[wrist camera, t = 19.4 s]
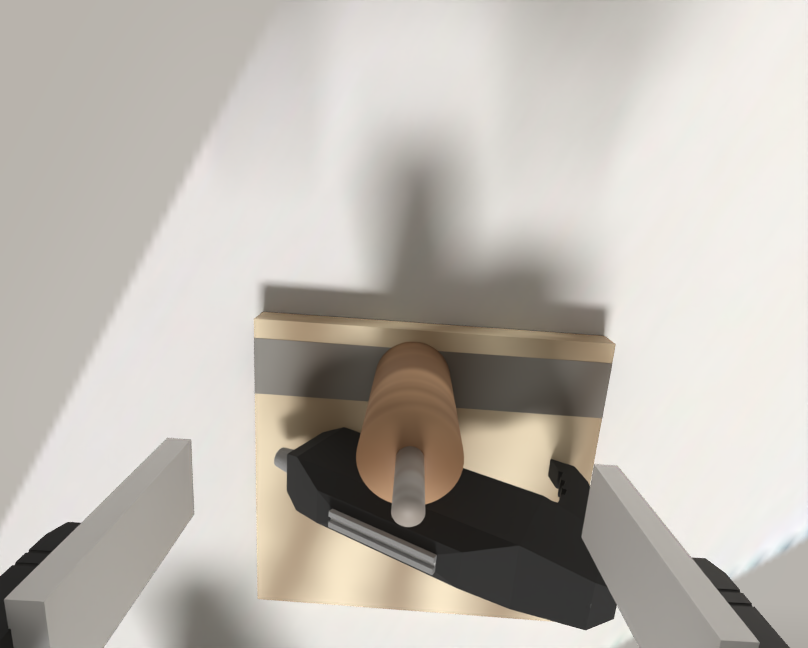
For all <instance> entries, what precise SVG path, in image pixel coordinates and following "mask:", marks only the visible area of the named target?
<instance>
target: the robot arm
mask: <svg viewBox="0 0 808 648" xmlns="http://www.w3.org/2000/svg"><path fill="white" fill-rule="evenodd" d="M193 515H194V496H193V473H192V449H191V439H176V438H167V439H166V440H165V441H164V442H163V443H162V444H161V445H160V446H159V447H158V448H157V449H156V450H155V451H154V452H153V453H152V454H151V455H150V456H149V457H148V458H147V459H146V460H145V461H144V462H143V463H141V464H140V465H139V466H138V467H137V468H136V469H135V470H134V471H133V472H132V473H131V474H130V475H129V476H128V477H127V478H126V479H125V480H124V481H123V482H122V483H121V484H120V485H119V486H118V487H117V488H116V489H115V490H114V491H113V492H112V493H111V494H110V495H109V496H108V497H107V498H106V499H105V500H104V501H103V502H102V503H101V504H100V505H99V506H98V507H97V508H96V509H95V510H94V511H93V512H92V513H91V514H90V515H89V516H88V517H87V518H86V519H85V520H84V521H83V522H82V523H74V522H67V523H65V524H63V525H62V526H60V527H58V528H56V529H55V530H53V531H51V532H49V533H48V534H46V535H45V536H44V537H42V538H41V539H40V540H39V541H38V542H37V543H36V544H35V545H34V546H33V547H32V548H30V549H29V552H28V553H25V554H24V555H23V556H22V557H21V558H20V559H19V560H17V561H16V563H15V565H12V566H11V567H10V568H9V569H8V570H7V571H6V572H4V573H3V574H2V575H1V576H0V648H104V646H105V645H106V643H107V642H108V640H109V639H110V638H111V636H112V635H113V633H114V632H115V630H116V629H117V627H118V626H119V624H120V623H121V621H122V620H123V618H124V617H125V615H126V614H127V612H128V611H129V610H130V608H131V607H132V605H133V604H134V602H135V601H136V599H137V598H138V596H139V595H140V593H141V592H142V590H143V589H144V587H145V586H146V584H147V583H148V582H149V580H150V579H151V577H152V576H153V574H154V573H155V571H156V570H157V568H158V567H159V565H160V564H161V562H162V561H163V559H164V558H165V556H166V555H167V554H168V552H169V551H170V549H171V548H172V546H173V545H174V543H175V542H176V540H177V539H178V537H179V536H180V534H181V533H182V531H183V530H184V528H185V527H186V526H187V524H188V523H189V521H190V520H191V518H192V517H193ZM581 537H582V539H583V541H584V543H585V545H586V547H587V549H588V551H589V553H590V555H591V557H592V558H593V560H594V562H595V564H596V566H597V568H598V570H599V572H600V574H601V576H602V577H603V579H604V581H605V583H606V585H607V587H608V589H609V591H610V593H611V595H612V597H613V598H614V600H615V602H616V604H617V606H618V608H619V610H620V612H621V614H622V616H623V618H624V619H625V621H626V623H627V625H628V627H629V629H630V631H631V633H632V635H633V637H634V638H635V640H636V642H637V644H638V646H639V648H789V646H788V645H787V644H786V643H785V642H784V641H783V639H782V638H780V636H779V635H778V634H777V632H776V631H775V630H774V629H773V628H772V627H771V625H770V624H769V623H768V622H767V621H766V620H765V618H764V617H763V616H762V615H761V614H760V613H759V612H758V610H757V609H756V608H755V607H752V605H751V604H752V603H751V602H750V601H749V600H748V599H747V598H746V597H745V595H744V594H743V593H740V590H739V588H738V587H737V586H736V585H735V584H734V583H733V581H732V580H731V579H730V578H729V577H728V576H727V574H726V573H724V572H723V571H722V570H720V569H719V568H718V567H716V566H715V565H714V564H712V563H711V562H710V561H708V560H707V559H705V558H691V556H690V555H689V554H688V553H687V551H686V550H685V549H684V548H683V546H682V545H681V544H680V543H679V541H678V540H677V539H676V538H675V536H674V535H673V534H672V533H671V532H670V530H669V529H668V528H667V527H666V525H665V524H664V523H663V522H662V520H661V519H660V518H659V517H658V515H657V514H656V513H655V512H654V510H653V509H652V508H651V507H650V505H649V504H648V503H647V502H646V500H645V499H644V498H643V497H642V495H641V494H640V493H639V492H638V491H637V489H636V488H635V487H634V486H633V484H632V483H631V482H630V481H629V479H628V478H627V477H626V476H625V474H624V473H623V472H622V471H621V469H620V468H619V467H618V466H615V465H599V464H594V468H593V474H592V480H591V485H590V491H589V497H588V502H587V508H586V514H585V519H584V525H583V531H582V536H581Z"/></svg>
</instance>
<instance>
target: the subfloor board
mask: <svg viewBox="0 0 808 648" xmlns="http://www.w3.org/2000/svg"><path fill="white" fill-rule="evenodd" d="M404 342H421V343H424V344H427V345H430V346H431V347H433V348H435V349H436V350H437V351H438V352H439V353H440V354H441V355H442V356H443V357H444V359H445V360H446V362H447V364H448V367H449V371H450V377H451V382H452V388H453V394H454V399H455V405H456V411H457V416H458V422H459V428H460V433H461V439H462V445H463V451H464V465H463V468H465V469H468V470H470V471H473V472H476V473H479V474H482V475H485V476H488V477H491V478H494V479H497V480H500V481H502V482H505V483H508V484H511V485H514V486H517V487H520V488H523V489H526V490H529V491H532V492H534V493H537V494H540V495H543V496H545V497H547V498H548V499H550V500H551V501H554V502H557V503H558V501H559V498H560V497H558V489H557V488H555V486H554V485H553V483H552V482H551V480H550V478H549V477H548V472H549V466H550V460H551V459H553V460H556V461H559V462H562V463H566V464H569V465H572V466H575V467H576V468H577V470H578V471H579V472H580V473H581V474H582V475H583V477H584V478H585V479H586V480H587V481H588V483H589V486H590V481H591V476H592V470H593V465H594V459H595V454H596V448H597V443H598V437H599V432H600V427H601V421H602V417H603V411H604V406H605V400H606V395H607V389H608V384H609V379H610V373H611V368H612V361H613V356H614V350H615V345H616V344H615V343H613V342H612V341H611V340H609V339H608V338H607V337H605V336H600V335H586V334H571V333H557V332H543V331H529V330H515V329H500V328H486V327H472V326H458V325H444V324H429V323H415V322H401V321H387V320H373V319H358V318H344V317H330V316H316V315H302V314H287V313H273V312H262V313H261V314H260V315H258V316H257V317H256V318H254V368H255V435H256V513H257V590H258V599H265V600H278V601H291V602H304V603H317V604H330V605H344V606H357V607H370V608H383V609H396V610H409V611H422V612H435V613H448V614H462V615H475V616H488V617H501V618H514V619H527V620H540V621H550V620H547V619H543V618H540V617H536V616H532V615H529V614H525V613H521V612H518V611H514V610H511V609H508V608H505V607H503V606H500V605H498V604H495V603H493V602H490V601H487V600H485V599H482V598H480V597H477V596H475V595H472V594H470V593H467V592H465V591H462V590H460V589H457V588H455V587H453V586H451V585H449V584H446V583H444V582H442V581H440V580H438V579H436V578H434V577H431V576H429V575H427V574H425V573H423V572H421V571H419V570H416V569H414V568H412V567H410V566H408V565H406V564H404V563H401V562H399V561H397V560H395V559H393V558H391V557H389V556H386V555H384V554H382V553H380V552H378V551H376V550H374V549H371V548H369V547H367V546H365V545H363V544H361V543H359V542H356V541H354V540H352V539H350V538H348V537H346V536H344V535H341V534H339V533H337V532H335V531H333V530H331V529H329V528H326V527H324V526H322V525H320V524H318V523H316V522H314V521H313V520H311V519H309V518H308V517H306V516H304V515H303V514H301V513H300V512H298V511H296V509H295V507H294V505H293V503H292V501H291V499H290V497H289V495H288V493H287V473H286V472H284V471H283V470H281V469H280V468H278V467H276V466H275V464H274V458H275V455H276V453H277V452H278V450H279V449H281V448H283V447H284V448H289V449H296V448H298V447H299V446H301V445H303V444H304V443H306V442H308V441H309V440H311V439H313V438H314V437H316V436H318V435H319V434H321V433H322V432H326V431H330V430H334V429H338V428H342V427H345V428H348V429H351V430H354V431H357V432H360V433H361V430H362V426H363V422H364V418H365V413H366V409H367V405H368V401H369V397H370V393H371V389H372V385H373V381H374V376H375V372H376V368H377V365H378V363H379V361H380V359H381V357H382V356H383V355H384V354H385V353H386V352H387V351H388V350H389V349H390V348H392V347H394V346H396V345H398V344H401V343H404ZM553 622H554V621H553Z"/></svg>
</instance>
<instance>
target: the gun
mask: <svg viewBox="0 0 808 648" xmlns="http://www.w3.org/2000/svg"><path fill="white" fill-rule="evenodd" d="M360 434H361V433H360V432H357V431H354V430H351V429H348V428H345V427H342V428H338V429H334V430H330V431H326V432H322V433H321V434H319V435H318V436H316V437H314V438H313V439H311V440H309V441H308V442H306V443H304V444H303V445H301V446H299V447H298V448H296V449H289V448H284V447H283V448H281V449H279V450H278V452H277V453H276V455H275V458H274V464H275V466H276V467H278V468H280V469H281V470H283V471H284V472H286V473H287V493H288V495H289V497H290V499H291V501H292V503H293V505H294V507H295V509H296V511H298V512H300V513H301V514H303V515H304V516H306V517H308V518H309V519H311V520H313V521H314V522H316V523H318V524H320V525H322V526H324V527H326V528H329V529H331V530H333V531H335V532H337V533H339V534H341V535H344V536H346V537H348V538H350V539H352V540H354V541H356V542H359V543H361V544H363V545H365V546H367V547H369V548H371V549H374V550H376V551H378V552H380V553H382V554H384V555H386V556H389V557H391V558H393V559H395V560H397V561H399V562H401V563H404V564H406V565H408V566H410V567H412V568H414V569H416V570H419V571H421V572H423V573H425V574H427V575H429V576H431V577H434V578H436V579H438V580H440V581H442V582H444V583H446V584H449V585H451V586H453V587H455V588H457V589H460V590H462V591H465V592H467V593H470V594H472V595H475V596H477V597H480V598H482V599H485V600H487V601H490V602H493V603H495V604H498V605H500V606H503V607H505V608H508V609H511V610H514V611H518V612H521V613H525V614H529V615H532V616H536V617H540V618H543V619H547V620H550V621H554V622H558V623H561V624H565V625H569V626H572V627H576V628H579V629H583V630H588V629H590V628H593V627H595V626H598V625H600V624H602V623H605V622H607V621H610V620H612V619H614V615H615V611H616V606H617V604H616V602H615V600H614V598H613V597H612V595H611V593H610V591H609V589H608V587H607V585H606V583H605V581H604V579H603V577H602V576H601V574H600V572H599V570H598V568H597V566H596V564H595V562H594V560H593V558H592V557H591V555H590V553H589V551H588V549H587V547H586V545H585V543H584V541H583V539H582V537H581V536H582V531H583V525H584V519H585V514H586V508H587V502H588V497H589V491H590V486H589V483H588V481H587V480H586V479H585V478H584V477H583V475H582V474H581V473H580V472H579V471H578V470H577V468H576V467H575V466H572V465H569V464H566V463H562V462H559V461H556V460H553V459H551V460H550V466H549V472H548V477H549V478H550V480H551V482H552V483H553V485H554V486H555V488H557V489H558V497H560V498H559V501H558V503H557V502H554V501H551V500H550V499H548V498H547V497H545V496H543V495H540V494H537V493H534V492H532V491H529V490H526V489H523V488H520V487H517V486H514V485H511V484H508V483H505V482H502V481H500V480H497V479H494V478H491V477H488V476H485V475H482V474H479V473H476V472H473V471H470V470H468V469H465V468H463V470H462V473H461V476H460V478H459V480H458V482H457V483H456V484H455V486H454V487H453V488H452V489H451V490H450V491H449V492H448V493H447V494H446V495H445V496H443V497H441V498H440V499H438V500H436V501H434V502H431V503H428V504H425V517H424V519H423V521H422V522H421V523H420V524H418V525H416V526H413V527H404V526H401V525H399V524H397V523H396V522H395V521H394V519H393V518H392V515H391V508H392V503H390V502H388V501H386V500H384V499H382V498H380V497H379V496H377V495H376V494H374V493H373V492H372V491H371V490H370V489H369V488H368V487H367V486H366V484H365V483H364V481H363V480H362V478H361V476H360V474H359V471H358V468H357V462H356V452H357V446H358V442H359V438H360Z"/></svg>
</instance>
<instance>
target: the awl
mask: <svg viewBox="0 0 808 648" xmlns="http://www.w3.org/2000/svg"><path fill="white" fill-rule="evenodd" d="M356 462H357V468H358V471H359V474H360V476H361V478H362V480H363V481H364V483H365V484H366V486H367V487H368V488H369V489H370V490H371V491H372V492H373V493H374V494H376V495H377V496H379V497H380V498H382V499H384V500H386V501H388V502H390V503H392V508H391V515H392V518H393V519H394V521H395V522H396V523H397V524H399V525H401V526H404V527H413V526H416V525H418V524H420V523H421V522H422V521H423V519H424V517H425V504H428V503H431V502H434V501H436V500H438V499H440V498H441V497H443V496H445V495H446V494H447V493H448V492H449V491H450V490H451V489H452V488H453V487H454V486H455V484H456V483H457V482H458V480H459V478H460V476H461V473H462V470H463V465H464V451H463V445H462V439H461V433H460V428H459V422H458V416H457V411H456V405H455V399H454V394H453V388H452V382H451V377H450V371H449V367H448V364H447V362H446V360H445V359H444V357H443V356H442V355H441V354H440V353H439V352H438V351H437V350H436V349H435V348H433V347H431V346H430V345H427V344H424V343H421V342H404V343H401V344H398V345H396V346H394V347H392V348H390V349H389V350H388V351H387V352H386V353H385V354H384V355H383V356H382V357H381V359H380V361H379V363H378V365H377V368H376V372H375V376H374V381H373V385H372V389H371V393H370V397H369V401H368V405H367V409H366V413H365V418H364V422H363V426H362V430H361V434H360V438H359V442H358V446H357V452H356Z"/></svg>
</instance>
